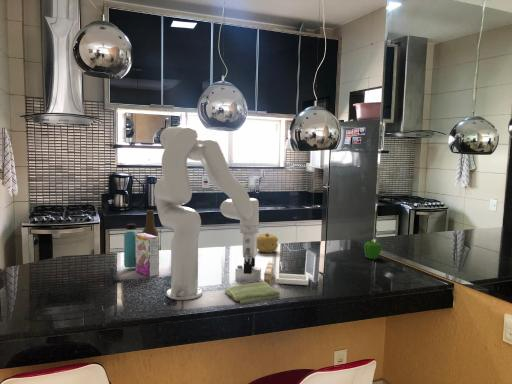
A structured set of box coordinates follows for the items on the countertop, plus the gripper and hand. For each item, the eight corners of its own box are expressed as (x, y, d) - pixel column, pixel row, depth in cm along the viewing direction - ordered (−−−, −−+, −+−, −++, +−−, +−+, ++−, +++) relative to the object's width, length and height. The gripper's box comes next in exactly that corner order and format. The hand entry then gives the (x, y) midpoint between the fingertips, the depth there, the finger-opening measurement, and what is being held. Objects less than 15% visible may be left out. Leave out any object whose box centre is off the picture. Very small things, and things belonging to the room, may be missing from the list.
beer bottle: (161, 259, 192) (162, 210, 190) (149, 263, 185) (149, 211, 183) (150, 257, 196) (150, 208, 194) (138, 260, 189) (137, 210, 187)
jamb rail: (270, 286, 156) (270, 273, 155) (263, 285, 156) (264, 273, 156) (273, 274, 172) (273, 263, 171) (267, 274, 172) (268, 262, 171)
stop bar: (259, 282, 161) (260, 268, 161) (235, 280, 162) (235, 267, 162) (260, 279, 165) (261, 265, 165) (236, 277, 166) (237, 264, 166)
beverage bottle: (134, 271, 171) (134, 225, 169) (120, 270, 172) (120, 224, 171) (142, 267, 177) (142, 223, 176) (128, 266, 179) (128, 222, 177)
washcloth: (223, 293, 148) (223, 285, 147) (265, 287, 155) (266, 279, 155) (236, 305, 136) (236, 296, 136) (282, 298, 143) (282, 290, 143)
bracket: (308, 285, 158) (308, 280, 158) (275, 283, 160) (275, 278, 160) (308, 279, 166) (308, 275, 165) (276, 277, 167) (276, 273, 167)
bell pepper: (366, 255, 209) (367, 236, 209) (382, 258, 205) (383, 238, 204) (360, 258, 203) (361, 239, 202) (377, 261, 198) (377, 241, 197)
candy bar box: (134, 272, 171) (134, 234, 169) (145, 269, 175) (145, 232, 173) (149, 277, 163) (149, 238, 162) (159, 275, 167) (159, 236, 166)
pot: (280, 250, 216) (281, 232, 215) (272, 255, 205) (273, 236, 204) (260, 248, 221) (261, 230, 220) (252, 252, 210) (252, 233, 209)
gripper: (256, 233, 153) (256, 276, 155) (260, 225, 170) (260, 264, 172) (236, 232, 154) (236, 276, 156) (243, 224, 171) (243, 263, 173)
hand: (249, 269), depth 164 cm, fingers open, 9 cm apart
